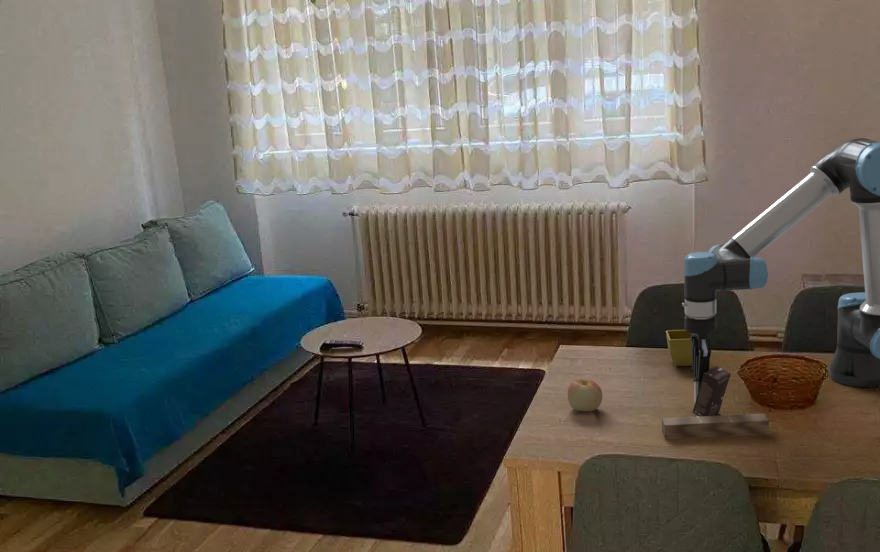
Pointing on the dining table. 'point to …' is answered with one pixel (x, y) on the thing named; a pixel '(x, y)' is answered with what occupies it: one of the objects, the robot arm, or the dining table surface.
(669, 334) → the flower pot
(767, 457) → the dining table surface
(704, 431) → the grey long bar
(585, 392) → the apple
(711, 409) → the box
